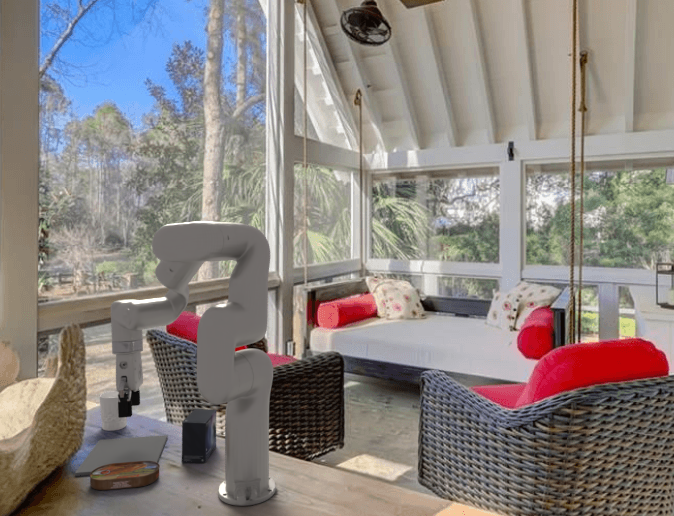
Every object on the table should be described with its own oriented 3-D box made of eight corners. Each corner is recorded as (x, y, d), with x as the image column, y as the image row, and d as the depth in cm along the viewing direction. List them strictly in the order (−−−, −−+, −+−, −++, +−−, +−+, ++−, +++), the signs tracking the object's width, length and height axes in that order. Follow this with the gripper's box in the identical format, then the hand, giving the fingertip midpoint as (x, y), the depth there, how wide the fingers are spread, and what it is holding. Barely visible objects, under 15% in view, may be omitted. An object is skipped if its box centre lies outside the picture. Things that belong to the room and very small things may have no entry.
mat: (155, 469, 119) (155, 466, 119) (75, 476, 116) (75, 472, 116) (167, 438, 139) (167, 435, 139) (99, 442, 135) (99, 439, 135)
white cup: (111, 433, 142) (110, 399, 142) (94, 428, 146) (93, 395, 146) (134, 425, 149) (134, 392, 149) (117, 420, 153) (117, 388, 153)
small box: (206, 463, 123) (206, 422, 122) (180, 463, 123) (180, 422, 122) (217, 446, 133) (217, 408, 133) (194, 446, 133) (193, 408, 133)
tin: (162, 459, 119) (156, 472, 111) (162, 472, 119) (156, 486, 111) (96, 464, 116) (84, 478, 108) (96, 477, 116) (84, 492, 108)
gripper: (135, 351, 122) (137, 420, 122) (148, 340, 139) (150, 400, 139) (103, 353, 120) (105, 423, 120) (120, 341, 137) (122, 402, 137)
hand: (129, 410), depth 130 cm, fingers open, 9 cm apart
